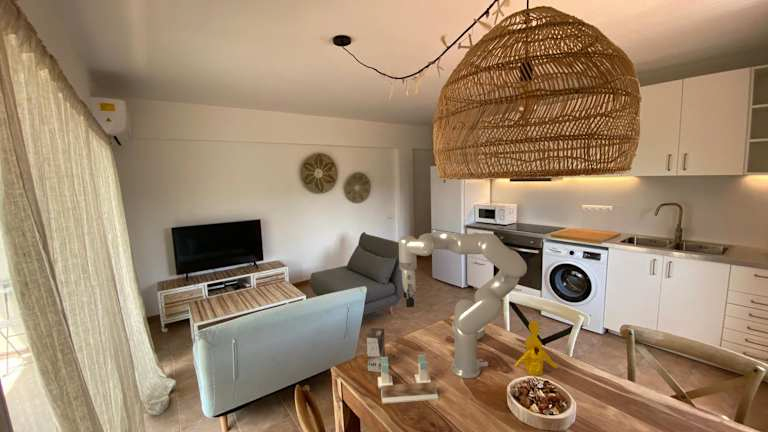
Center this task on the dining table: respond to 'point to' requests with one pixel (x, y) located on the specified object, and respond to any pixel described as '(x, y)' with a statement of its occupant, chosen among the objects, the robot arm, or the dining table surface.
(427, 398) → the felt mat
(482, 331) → the grey rounded joint piece
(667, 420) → the dining table surface
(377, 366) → the coffee box
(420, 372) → the toy blocks
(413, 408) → the dining table surface
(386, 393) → the rail
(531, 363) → the figure statuette
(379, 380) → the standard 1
